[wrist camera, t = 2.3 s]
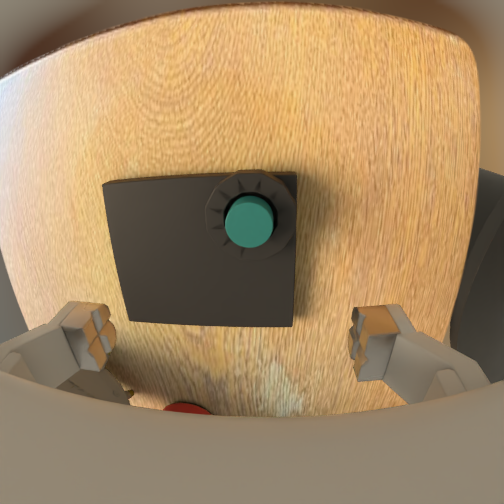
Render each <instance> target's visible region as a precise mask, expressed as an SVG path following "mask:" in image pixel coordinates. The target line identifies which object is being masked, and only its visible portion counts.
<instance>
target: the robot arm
mask: <svg viewBox="0 0 504 504" xmlns="http://www.w3.org/2000/svg"><path fill="white" fill-rule="evenodd" d="M110 316H111V314H110V311H109V308H108V306H107V305H105V304H100V303H90V302H80V301H69V302H68V303H67V304H66V305H65V306H64V307H63V308H62V309H61V310H60V311H59V312H58V314H57V315H56V316H55V317H54V318H53V319H52V320H51V321H50V322H49V323H48V324H43V325H41V326H39V327H37V328H34V329H32V330H30V331H28V332H26V333H24V334H21V335H19V336H17V337H15V338H13V339H11V340H8V341H6V342H4V343H2V344H0V504H504V380H502V381H499V382H496V383H493V384H491V383H490V382H489V380H488V379H487V377H486V376H485V374H484V372H483V371H482V369H481V368H480V366H479V365H478V363H477V362H476V361H474V360H472V359H471V358H469V357H467V356H465V355H463V354H461V353H460V352H458V351H456V350H454V349H452V348H450V347H448V346H447V345H445V344H443V343H441V342H439V341H437V340H436V339H434V338H432V337H430V336H428V335H426V334H424V333H423V332H416V330H415V328H414V327H413V325H412V323H411V322H410V320H409V319H408V317H407V316H406V314H405V312H404V311H403V309H402V308H401V306H400V305H399V304H388V305H379V306H365V307H354V309H353V311H352V317H351V319H352V322H353V326H352V327H351V328H350V329H349V335H348V350H349V354H350V358H352V359H353V360H355V361H354V366H353V368H354V371H355V375H356V378H357V381H358V382H360V381H373V380H383V381H384V382H385V383H386V384H387V385H388V386H389V387H390V388H391V389H392V390H394V391H395V392H396V393H397V394H398V395H399V396H400V397H401V398H403V399H404V400H405V401H406V402H407V403H408V405H403V406H397V407H391V408H384V409H377V410H370V411H362V412H354V413H344V414H333V415H318V416H297V417H240V416H219V415H204V414H192V413H182V412H173V411H164V410H157V409H150V408H143V407H137V406H131V405H125V404H119V403H114V402H109V401H104V400H99V399H95V398H90V397H86V396H82V395H78V394H74V393H70V392H66V391H62V390H59V389H55V388H56V387H57V386H59V385H60V384H61V383H63V382H64V381H66V380H67V379H68V378H70V377H71V376H72V375H74V374H75V373H76V372H78V371H79V370H80V369H85V370H92V371H98V372H100V370H101V369H102V367H103V365H104V364H105V362H106V360H107V357H106V354H108V353H109V352H111V351H112V350H113V348H114V346H115V343H116V330H115V327H114V325H113V324H112V323H111V322H110V321H109V318H110Z"/></svg>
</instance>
